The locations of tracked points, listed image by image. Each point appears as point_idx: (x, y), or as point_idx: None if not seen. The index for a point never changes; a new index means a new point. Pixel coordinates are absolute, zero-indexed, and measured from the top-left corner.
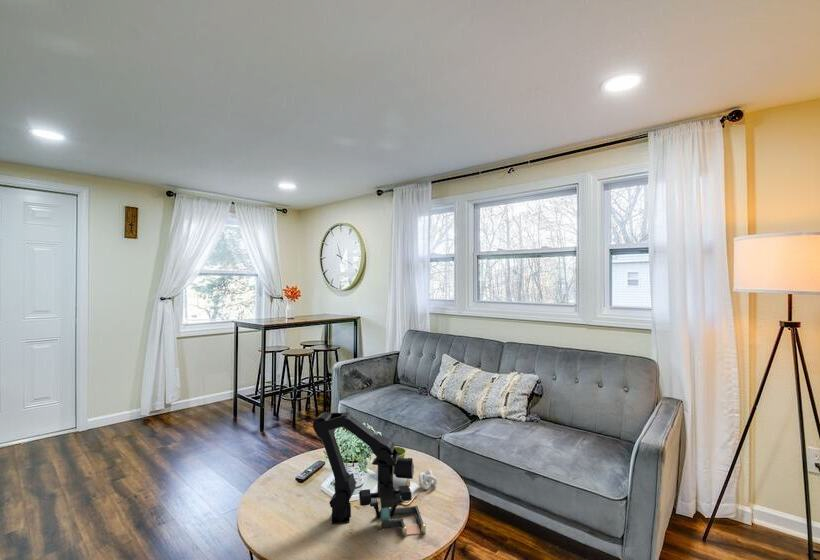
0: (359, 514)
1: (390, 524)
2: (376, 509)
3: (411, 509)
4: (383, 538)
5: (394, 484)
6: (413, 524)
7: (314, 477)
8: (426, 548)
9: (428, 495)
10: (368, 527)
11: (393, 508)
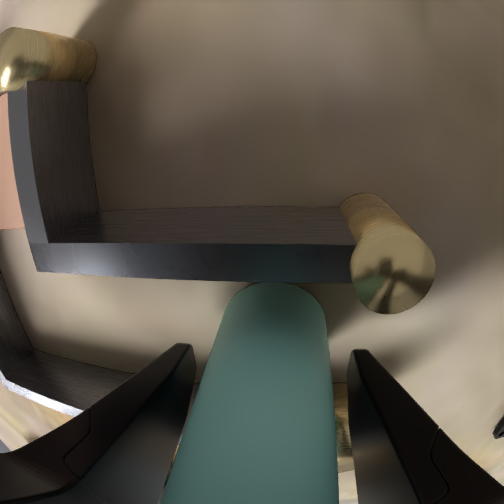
0: (452, 422)
1: (204, 225)
2: (455, 471)
3: (32, 378)
4: (334, 29)
5: None
6: (7, 227)
7: None
8: None
9: (32, 429)
10: (467, 278)
11: (92, 437)
